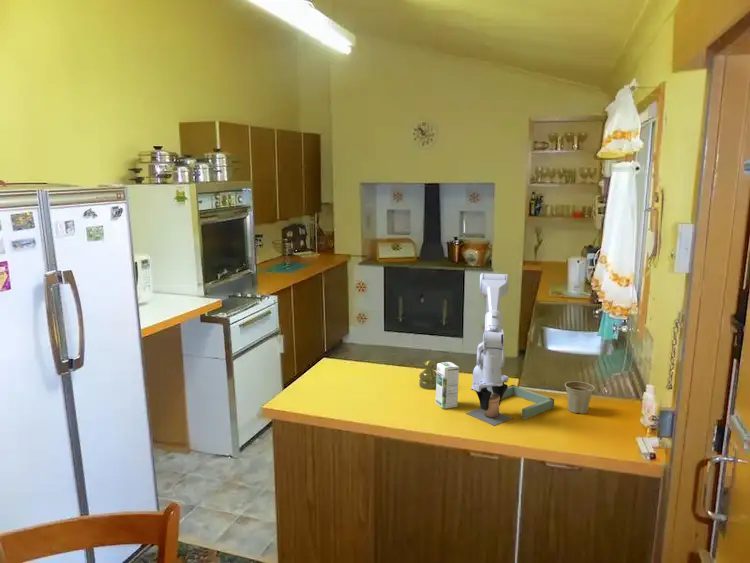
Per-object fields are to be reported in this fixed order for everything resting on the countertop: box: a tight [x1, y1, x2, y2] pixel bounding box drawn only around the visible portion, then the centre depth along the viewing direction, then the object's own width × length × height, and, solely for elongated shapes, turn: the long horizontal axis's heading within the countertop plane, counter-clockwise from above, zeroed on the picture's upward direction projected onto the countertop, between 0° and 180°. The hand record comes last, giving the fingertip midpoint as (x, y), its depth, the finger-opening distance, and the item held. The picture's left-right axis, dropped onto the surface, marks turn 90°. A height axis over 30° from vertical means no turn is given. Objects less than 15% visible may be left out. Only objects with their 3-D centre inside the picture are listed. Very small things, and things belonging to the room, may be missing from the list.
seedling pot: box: [484, 393, 500, 417], centre depth 184 cm, size 6×6×6 cm
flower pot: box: [564, 380, 596, 415], centre depth 189 cm, size 9×9×9 cm
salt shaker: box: [418, 359, 437, 390], centre depth 211 cm, size 7×7×10 cm
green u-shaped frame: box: [492, 384, 555, 420], centre depth 194 cm, size 18×16×3 cm
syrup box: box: [435, 361, 460, 410], centre depth 192 cm, size 6×6×14 cm
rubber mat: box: [465, 407, 513, 427], centre depth 185 cm, size 12×9×1 cm
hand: (490, 407), depth 185 cm, fingers closed on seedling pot, 5 cm apart
